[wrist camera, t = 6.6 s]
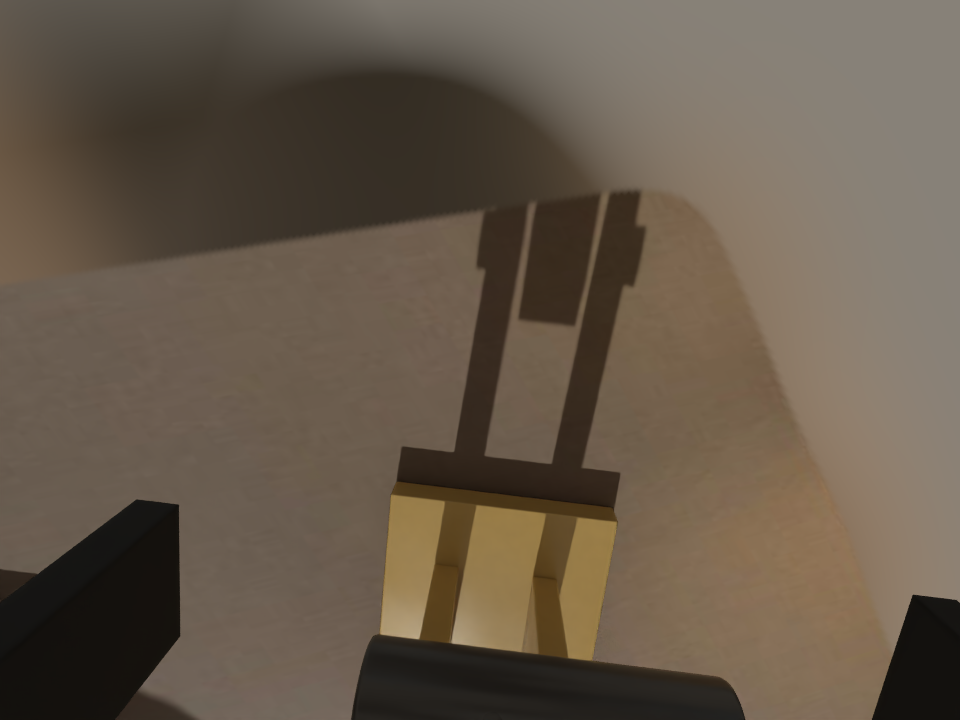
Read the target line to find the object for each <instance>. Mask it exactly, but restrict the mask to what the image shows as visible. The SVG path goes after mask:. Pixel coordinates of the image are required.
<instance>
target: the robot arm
mask: <svg viewBox="0 0 960 720" xmlns="http://www.w3.org/2000/svg"><path fill="white" fill-rule="evenodd" d="M179 637H180V573H179V505H178V504H169V503H161V502H153V501H145V500H135V501H134V502H133V503H131V504H130V505H129V506H127V507H126V508H125V509H123V510H122V511H121V512H119V513H118V514H117V515H115V516H114V517H113V518H111V519H110V520H109V521H108V522H106V523H105V524H104V525H102V526H101V527H100V528H98V529H97V530H96V531H94V532H93V533H92V534H90V535H89V536H88V537H86V538H85V539H84V540H82V541H81V542H80V543H78V544H77V545H76V546H74V547H73V548H72V549H70V550H69V551H68V552H66V553H65V554H64V555H63V556H61V557H60V558H59V559H57V560H56V561H55V562H53V563H52V564H51V565H49V566H48V567H47V568H45V569H44V570H43V571H41V572H40V573H39V574H37V575H36V576H35V577H33V578H32V579H31V580H29V581H28V582H27V583H25V584H24V585H23V586H21V587H20V588H19V589H18V590H16V591H15V592H14V593H12V594H11V595H10V596H8V597H7V598H6V599H4V600H3V601H2V602H0V720H115V719H116V718H117V716H118V715H119V714H120V712H121V711H122V710H123V709H124V707H125V706H126V705H127V703H128V702H129V701H130V700H131V698H132V697H133V696H134V695H135V693H136V692H137V691H138V689H139V688H140V687H141V686H142V684H143V683H144V682H145V680H146V679H147V678H148V677H149V675H150V674H151V673H152V671H153V670H154V669H155V668H156V666H157V665H158V664H159V663H160V661H161V660H162V659H163V657H164V656H165V655H166V654H167V652H168V651H169V650H170V648H171V647H172V646H173V645H174V643H175V642H176V641H177V640H178V638H179ZM872 720H960V603H959V602H958V601H957V600H952V599H944V598H935V597H928V596H919V595H913V596H912V599H911V602H910V605H909V608H908V611H907V614H906V617H905V620H904V623H903V626H902V629H901V633H900V635H899V638H898V641H897V645H896V648H895V651H894V654H893V657H892V660H891V663H890V666H889V669H888V672H887V675H886V678H885V681H884V684H883V687H882V690H881V693H880V696H879V699H878V702H877V706H876V709H875V712H874V715H873V718H872Z"/></svg>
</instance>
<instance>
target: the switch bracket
mask: <svg viewBox="0 0 960 720" xmlns="http://www.w3.org/2000/svg"><path fill="white" fill-rule="evenodd" d="M617 524H618V521H617V519H616V516H615V513H614V511H613V508H611V507H602V506H594V505H586V504H578V503H569V502H561V501H553V500H545V499H536V498H528V497H520V496H512V495H504V494H495V493H487V492H479V491H471V490H462V489H454V488H446V487H438V486H429V485H421V484H413V483H405V482H396V484H395V486H394V489H393V491H392V493H391V500H390V513H389V525H388V537H387V549H386V561H385V573H384V585H383V597H382V609H381V621H380V633H379V634H381V635H389V636H397V637H405V638H413V639H421V640H429V641H437V642H445V643H453V644H461V645H469V646H477V647H485V648H493V649H501V650H509V651H517V652H525V653H533V654H541V655H549V656H557V657H565V658H573V659H581V660H589V661H592V659H593V654H594V648H595V643H596V637H597V632H598V627H599V621H600V616H601V610H602V605H603V600H604V594H605V589H606V583H607V578H608V573H609V567H610V562H611V556H612V551H613V546H614V540H615V535H616V529H617Z"/></svg>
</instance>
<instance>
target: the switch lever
mask: <svg viewBox="0 0 960 720" xmlns="http://www.w3.org/2000/svg"><path fill="white" fill-rule="evenodd" d="M351 720H745V717H744V713H743V710H742V707H741V704H740V702H739V699H738V697H737V695H736V693H735V691H734V690H733V688H732V687H731V685H730V684H729V683H728V682H727V681H725V680H723V679H722V678H720V677H717V676H709V675H701V674H693V673H685V672H677V671H669V670H661V669H653V668H645V667H637V666H629V665H621V664H613V663H605V662H597V661H589V660H581V659H573V658H565V657H557V656H549V655H541V654H533V653H525V652H517V651H509V650H501V649H493V648H485V647H477V646H469V645H461V644H453V643H445V642H437V641H429V640H421V639H413V638H405V637H397V636H389V635H381V634H378V635H374V636H373V637H372V639H371V640H370V642H369V644H368V647H367V649H366V652H365V656H364V659H363V663H362V666H361V670H360V675H359V679H358V684H357V688H356V693H355V699H354V704H353V710H352V717H351Z"/></svg>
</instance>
